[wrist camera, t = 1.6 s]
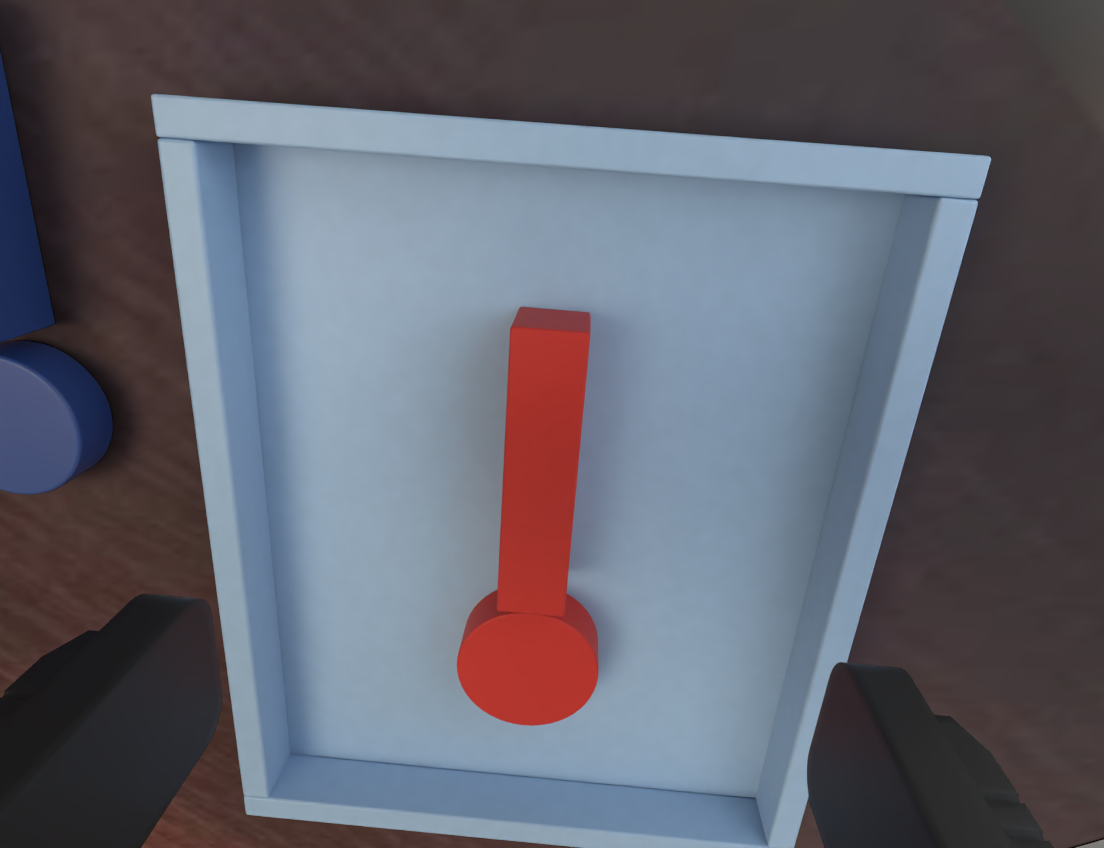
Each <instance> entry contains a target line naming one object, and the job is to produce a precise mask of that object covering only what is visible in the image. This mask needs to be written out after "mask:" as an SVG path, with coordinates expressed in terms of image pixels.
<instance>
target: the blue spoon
mask: <svg viewBox="0 0 1104 848" xmlns="http://www.w3.org/2000/svg"><path fill="white" fill-rule="evenodd" d="M54 324H55V320H54V315H53V310H52V305H51V300H50V295H49V290H48V285H47V280H46V275H45V270H44V265H43V260H42V255H41V250H40V245H39V240H38V235H37V230H36V225H35V220H34V215H33V210H32V205H31V201H30V196H29V191H28V186H27V181H26V176H25V171H24V166H23V161H22V156H21V151H20V146H19V141H18V136H17V131H16V126H15V121H14V116H13V111H12V106H11V101H10V96H9V91H8V86H7V81H6V76H5V71H4V66H3V61H2V56H1V51H0V342H3V341H6V340H10V339H13V338H16V337H19V336H22V335H25V334H28V333H31V332H34V331H37V330H40V329H43V328H46V327H49V326H52V325H54ZM112 432H113V421H112V414H111V410H110V406H109V403H108V401H107V398H106V396H105V394H104V392H103V390H102V389H101V387H100V386H99V384H98V383H97V381H96V380H95V379H94V377H93V376H92V375H91V374H90V373H89V372H88V371H87V370H86V369H85V368H84V367H83V366H82V365H81V364H80V363H78V362H77V361H76V360H75V359H73V358H72V357H70V356H69V355H67V354H66V353H64V352H62V351H60V350H58V349H56V348H53V347H51V346H48V345H45V344H41V343H37V342H31V341H8V342H4V343H0V490H3V491H7V492H11V493H17V494H39V493H45V492H49V491H52V490H54V489H57V488H59V487H60V486H62V485H64V484H65V483H67V482H69V481H70V480H72V479H73V478H75V477H76V476H78V475H80V474H81V473H83V472H84V471H86V470H87V469H89V468H91V467H92V466H94V465H95V464H96V463H97V462H98V461H99V460H100V459H101V458H102V457H103V456H104V454H105V452H106V451H107V449H108V447H109V444H110V441H111V438H112Z"/></svg>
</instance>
